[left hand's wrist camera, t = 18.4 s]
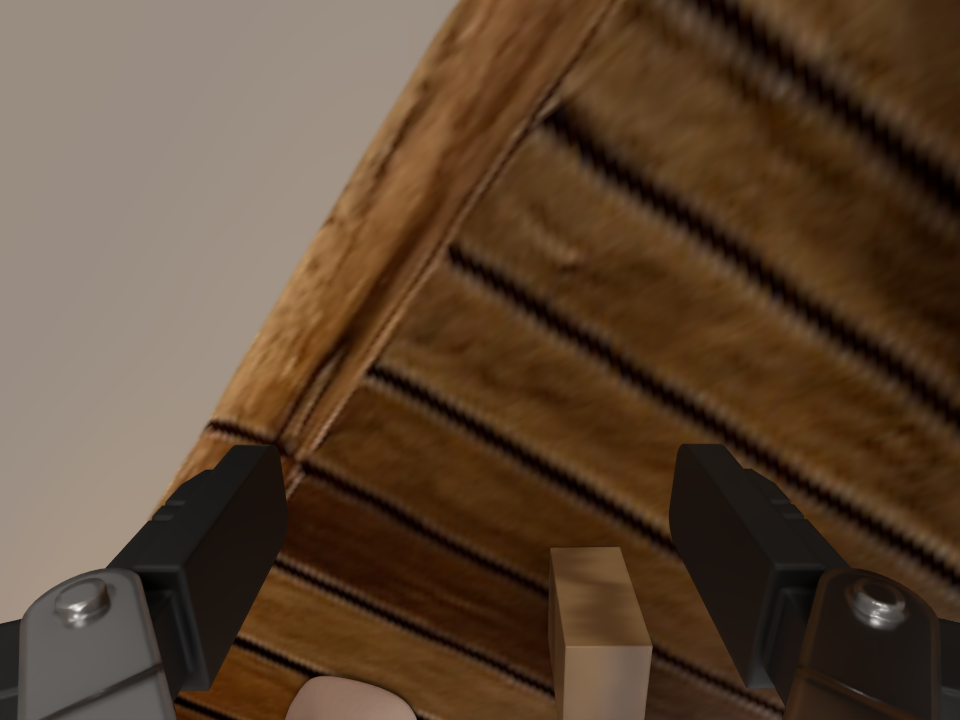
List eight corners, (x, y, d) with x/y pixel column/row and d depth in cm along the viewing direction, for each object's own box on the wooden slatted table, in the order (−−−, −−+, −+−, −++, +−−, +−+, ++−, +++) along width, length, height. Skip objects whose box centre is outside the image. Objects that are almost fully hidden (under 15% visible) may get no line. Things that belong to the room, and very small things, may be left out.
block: (547, 636, 42) (561, 747, 34) (550, 547, 39) (565, 647, 31) (612, 635, 41) (641, 747, 34) (619, 546, 39) (652, 646, 31)
